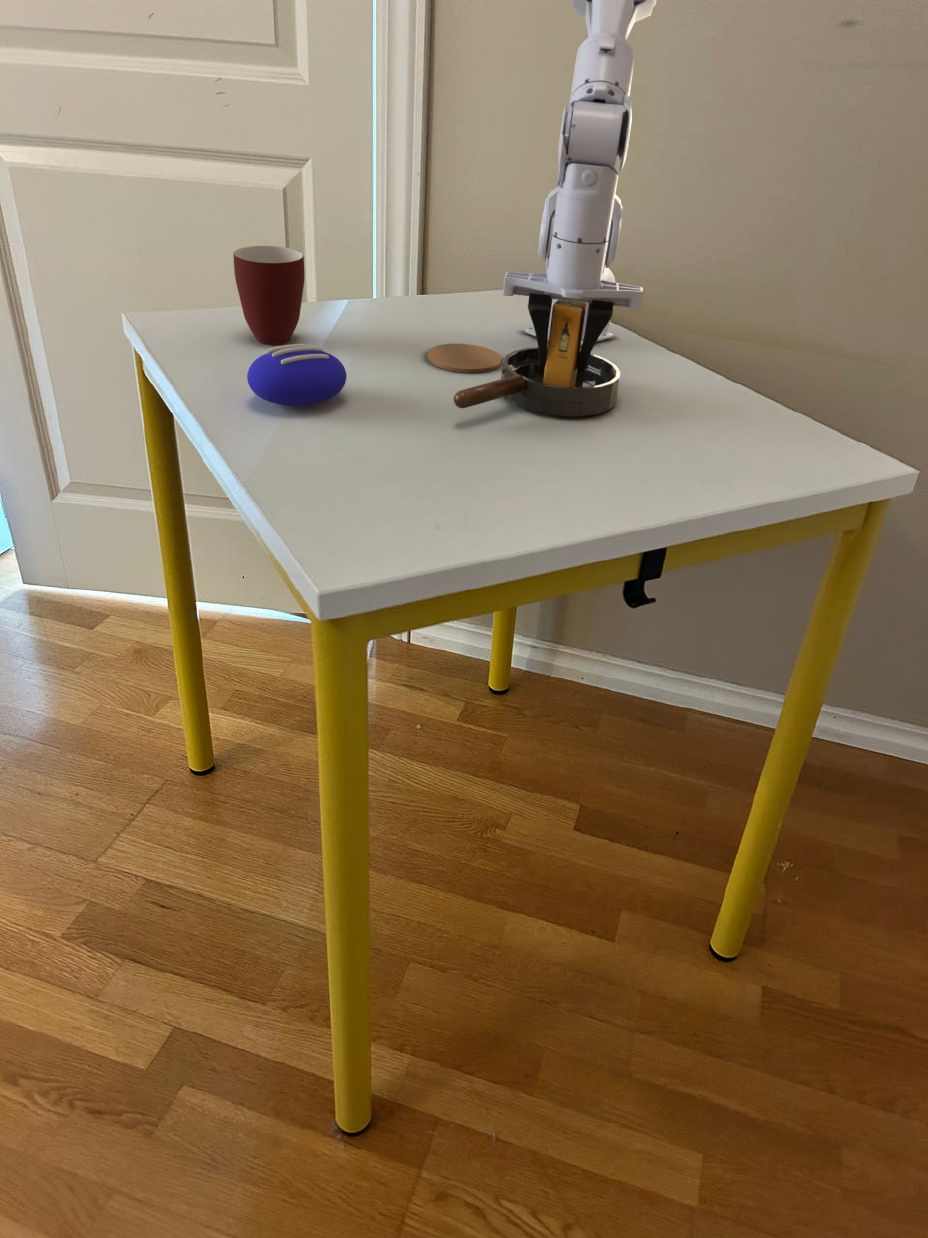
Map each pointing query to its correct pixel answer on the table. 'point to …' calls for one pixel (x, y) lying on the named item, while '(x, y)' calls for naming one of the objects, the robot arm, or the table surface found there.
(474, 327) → the table surface
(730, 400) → the table surface
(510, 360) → the pan
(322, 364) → the decorative object
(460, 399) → the pan handle
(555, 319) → the supplement box
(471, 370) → the disc
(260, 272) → the mug
